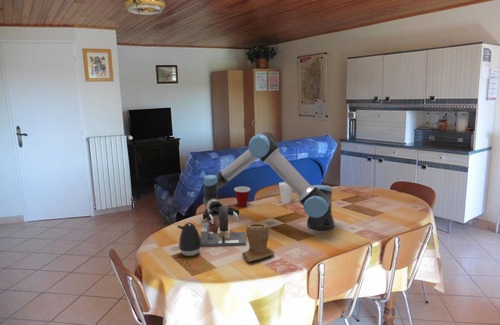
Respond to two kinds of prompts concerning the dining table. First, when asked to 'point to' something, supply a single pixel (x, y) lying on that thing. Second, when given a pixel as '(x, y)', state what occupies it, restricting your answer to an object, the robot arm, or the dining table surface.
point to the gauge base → (212, 240)
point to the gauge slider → (223, 224)
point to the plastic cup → (242, 195)
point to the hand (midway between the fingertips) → (225, 219)
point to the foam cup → (285, 192)
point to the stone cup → (257, 242)
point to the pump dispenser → (189, 240)
